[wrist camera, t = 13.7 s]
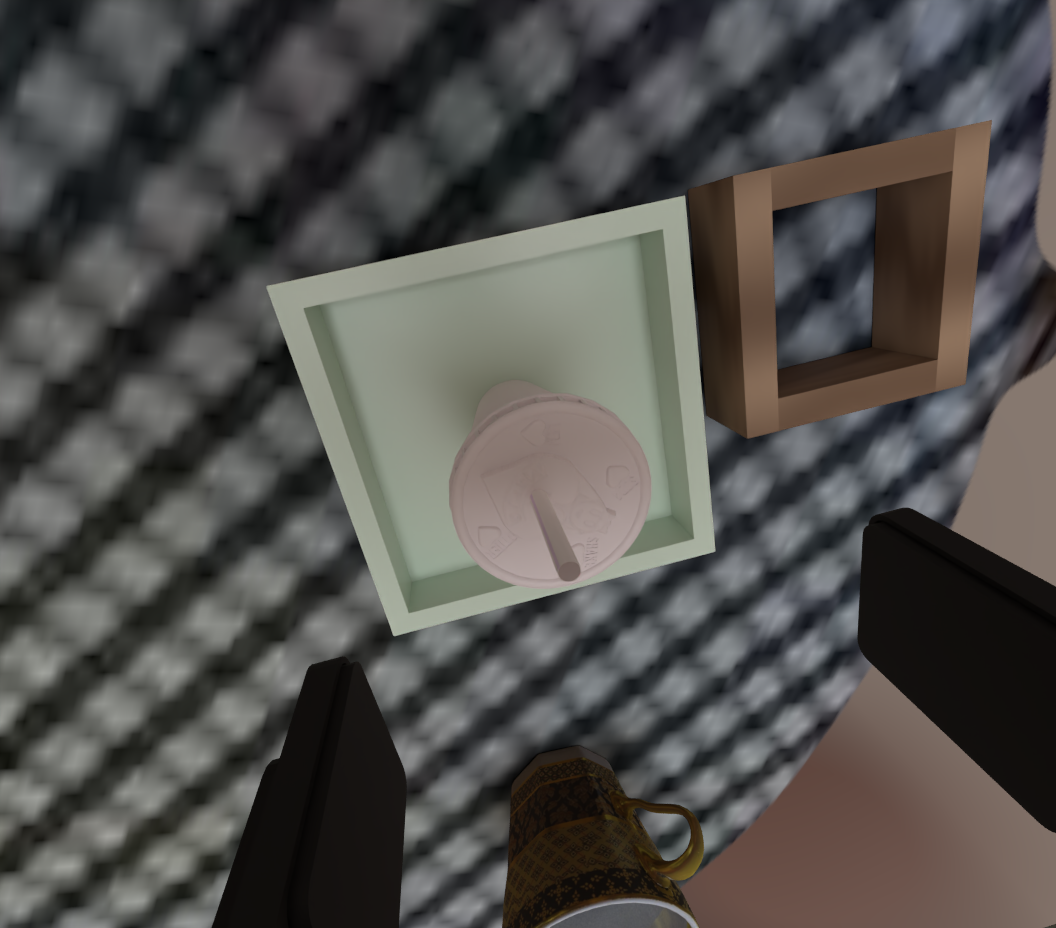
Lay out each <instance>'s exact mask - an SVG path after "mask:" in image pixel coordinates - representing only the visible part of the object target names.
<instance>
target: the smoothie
mask: <svg viewBox="0 0 1056 928" xmlns="http://www.w3.org/2000/svg"><path fill="white" fill-rule="evenodd" d="M651 491H652V485H651V474H650V469H649V465H648V461H647V459H646V456H645V453H644V451H643V449H642V447H641V445H640V444H639V442H638V441H637V439H636V438H635V436H634V435H633V434H632V432H631V431H630V430H629V429H628V428H627V427H626V425H625V424H624V423H623V422H622V421H621V420H620V419H619V418H618V417H617V416H616V414H615V413H613V412H611V411H610V410H608V409H606V408H605V407H603V406H601V405H600V404H598V403H597V402H595V401H593V400H590V399H586V398H583V397H579V396H575V395H572V394H568V393H552V392H549V391H547V390H545V389H543V388H541V387H538V386H536V385H534V384H532V383H530V382H527V381H522V380H509V381H504V382H501V383H499V384H497V385H495V386H493V387H492V388H491V389H489V390H488V391H487V392H486V393H485V394H484V396H483V397H482V399H481V400H480V402H479V404H478V407H477V410H476V414H475V418H474V422H473V426H472V430H471V432H470V433H469V435H468V436H467V438H466V440H465V441H464V443H463V445H462V446H461V448H460V450H459V452H458V453H457V455H456V457H455V460H454V464H453V468H452V472H451V475H450V479H449V506H450V509H451V514H452V519H453V524H454V527H455V531H456V533H457V536H458V538H459V540H460V542H461V544H462V545H463V547H464V549H465V550H466V552H467V553H468V554H469V556H470V557H471V558H472V559H473V560H474V561H475V562H476V563H477V564H478V565H479V566H480V567H481V568H483V569H484V570H485V571H487V572H488V573H490V574H491V575H493V576H495V577H496V578H498V579H501V580H503V581H505V582H508V583H510V584H513V585H517V586H521V587H527V588H535V589H551V588H560V587H565V586H570V585H573V584H577V583H580V582H582V581H585V580H587V579H589V578H592V577H594V576H596V575H597V574H599V573H601V572H603V571H604V570H605V569H607V568H608V567H610V566H611V565H612V564H614V563H615V562H616V561H617V560H618V559H619V558H620V557H621V556H622V555H623V554H624V553H625V552H626V551H627V550H628V549H629V548H630V546H631V545H632V544H633V542H634V541H635V539H636V538H637V536H638V534H639V533H640V531H641V529H642V527H643V525H644V522H645V520H646V517H647V514H648V510H649V507H650V501H651Z"/></svg>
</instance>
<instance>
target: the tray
mask: <svg viewBox="0 0 1056 928" xmlns="http://www.w3.org/2000/svg"><path fill="white" fill-rule="evenodd" d="M266 288H267V290H268V293H269V296H270V298H271V301H272V304H273V307H274V309H275V312H276V315H277V318H278V320H279V323H280V326H281V329H282V331H283V334H284V337H285V340H286V342H287V345H288V348H289V351H290V353H291V356H292V359H293V361H294V364H295V367H296V370H297V372H298V375H299V378H300V381H301V383H302V386H303V389H304V392H305V394H306V397H307V400H308V403H309V405H310V408H311V411H312V414H313V416H314V419H315V422H316V424H317V427H318V430H319V433H320V435H321V438H322V441H323V444H324V446H325V449H326V452H327V455H328V457H329V460H330V463H331V466H332V468H333V471H334V474H335V476H336V479H337V482H338V485H339V487H340V490H341V493H342V496H343V498H344V501H345V504H346V507H347V509H348V512H349V515H350V518H351V520H352V523H353V526H354V529H355V531H356V534H357V537H358V539H359V542H360V545H361V548H362V550H363V553H364V556H365V559H366V561H367V564H368V567H369V570H370V572H371V575H372V578H373V581H374V583H375V586H376V589H377V591H378V594H379V597H380V600H381V602H382V605H383V608H384V611H385V613H386V616H387V619H388V622H389V624H390V627H391V630H392V633H393V635H394V636H396V635H400V634H404V633H408V632H412V631H415V630H419V629H423V628H427V627H431V626H434V625H438V624H442V623H446V622H450V621H453V620H457V619H461V618H465V617H469V616H472V615H476V614H480V613H484V612H488V611H491V610H495V609H499V608H503V607H506V606H510V605H514V604H518V603H522V602H525V601H529V600H533V599H537V598H541V597H544V596H548V595H552V594H556V593H560V592H563V591H567V590H571V589H575V588H579V587H582V586H586V585H590V584H594V583H598V582H601V581H605V580H609V579H613V578H617V577H620V576H624V575H628V574H632V573H636V572H639V571H643V570H647V569H651V568H655V567H658V566H662V565H666V564H670V563H674V562H677V561H681V560H685V559H689V558H693V557H696V556H700V555H704V554H708V553H712V552H715V542H714V530H713V518H712V507H711V495H710V483H709V471H708V460H707V448H706V436H705V424H704V413H703V401H702V389H701V377H700V366H699V354H698V342H697V330H696V319H695V307H694V295H693V283H692V272H691V260H690V248H689V236H688V225H687V213H686V201H685V196H681V197H676V198H671V199H667V200H662V201H658V202H653V203H648V204H644V205H639V206H635V207H630V208H625V209H621V210H616V211H611V212H607V213H602V214H598V215H593V216H588V217H584V218H579V219H575V220H570V221H565V222H561V223H556V224H551V225H547V226H542V227H538V228H533V229H528V230H524V231H519V232H515V233H510V234H505V235H501V236H496V237H491V238H487V239H482V240H478V241H473V242H468V243H464V244H459V245H454V246H450V247H445V248H441V249H436V250H431V251H427V252H422V253H418V254H413V255H408V256H404V257H399V258H394V259H390V260H385V261H381V262H376V263H371V264H367V265H362V266H358V267H353V268H348V269H344V270H339V271H334V272H330V273H325V274H321V275H316V276H311V277H307V278H302V279H298V280H293V281H288V282H284V283H279V284H274V285H270V286H266ZM509 380H522V381H527V382H530V383H532V384H534V385H536V386H538V387H541V388H543V389H545V390H547V391H549V392H552V393H568V394H572V395H575V396H579V397H583V398H586V399H590V400H593V401H595V402H597V403H598V404H600V405H601V406H603V407H605V408H606V409H608V410H610V411H611V412H613V413H615V414H616V416H617V417H618V418H619V419H620V420H621V421H622V422H623V423H624V424H625V425H626V427H627V428H628V429H629V430H630V431H631V432H632V434H633V435H634V436H635V438H636V439H637V441H638V442H639V444H640V445H641V447H642V449H643V451H644V453H645V456H646V459H647V461H648V465H649V469H650V474H651V485H652V491H651V501H650V507H649V510H648V514H647V517H646V520H645V522H644V525H643V527H642V529H641V531H640V533H639V534H638V536H637V538H636V539H635V541H634V542H633V544H632V545H631V546H630V548H629V549H628V550H627V551H626V552H625V553H624V554H623V555H622V556H621V557H620V558H619V559H618V560H617V561H616V562H615V563H614V564H612V565H611V566H610V567H608V568H607V569H605V570H604V571H603V572H601V573H599V574H597V575H596V576H594V577H592V578H589V579H587V580H585V581H582V582H580V583H577V584H573V585H570V586H565V587H560V588H551V589H535V588H527V587H521V586H517V585H513V584H510V583H508V582H505V581H503V580H501V579H498V578H496V577H495V576H493V575H491V574H490V573H488V572H487V571H485V570H484V569H483V568H481V567H480V566H479V565H478V564H477V563H476V562H475V561H474V560H473V559H472V558H471V557H470V556H469V554H468V553H467V552H466V550H465V549H464V547H463V545H462V544H461V542H460V540H459V538H458V536H457V533H456V531H455V527H454V524H453V519H452V514H451V509H450V506H449V479H450V475H451V472H452V468H453V464H454V460H455V457H456V455H457V453H458V452H459V450H460V448H461V446H462V445H463V443H464V441H465V440H466V438H467V436H468V435H469V433H470V432H471V430H472V426H473V422H474V418H475V414H476V410H477V407H478V404H479V402H480V400H481V399H482V397H483V396H484V394H485V393H486V392H487V391H488V390H489V389H491V388H492V387H493V386H495V385H497V384H499V383H501V382H504V381H509Z"/></svg>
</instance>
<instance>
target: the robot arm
mask: <svg viewBox="0 0 1056 928" xmlns="http://www.w3.org/2000/svg"><path fill="white" fill-rule="evenodd" d="M858 644H859V647H860V649H861V652H862V653H863V655H864V656H865V657H866V659H867V660H868V661H869V662H870V663H871V664H872V665H873V666H875V667H876V668H877V669H878V670H879V671H880V672H881V673H882V674H883V675H884V676H885V677H886V678H887V679H888V680H889V681H890V682H891V683H893V684H894V685H895V686H896V687H897V688H898V689H899V690H900V691H901V692H902V693H903V694H904V695H905V696H906V697H907V698H908V699H909V700H910V701H911V702H913V703H914V704H915V705H916V706H917V707H918V708H919V709H920V710H921V711H922V712H923V713H924V714H925V715H926V716H927V717H928V718H929V719H930V720H931V721H932V722H934V723H935V724H936V725H937V726H938V727H939V728H940V729H941V730H942V731H943V732H944V733H945V734H946V735H947V736H948V737H949V738H950V739H951V740H953V741H954V742H955V743H956V744H957V745H958V746H959V747H960V748H961V749H962V750H963V751H964V752H965V753H966V754H967V755H968V756H969V757H970V758H971V759H973V760H974V761H975V762H976V763H977V764H978V765H979V766H980V767H981V768H982V769H983V770H984V771H985V772H986V773H987V774H988V775H990V777H992V779H994V780H995V781H996V782H997V783H998V784H999V785H1000V786H1001V787H1002V788H1003V789H1004V790H1005V791H1006V792H1007V793H1008V794H1009V795H1010V796H1011V797H1012V798H1014V799H1015V800H1016V801H1017V802H1018V803H1019V804H1020V805H1021V806H1022V807H1023V808H1024V809H1025V810H1026V811H1027V812H1028V813H1029V814H1030V815H1031V816H1033V817H1034V818H1035V819H1036V820H1037V821H1038V822H1039V823H1040V824H1041V825H1043V826H1044V827H1045V828H1047V829H1048V830H1050V831H1052V832H1055V833H1056V587H1055V586H1054V585H1051V584H1050V583H1048V582H1046V581H1044V580H1043V579H1041V578H1039V577H1037V576H1035V575H1033V574H1031V573H1030V572H1028V571H1026V570H1024V569H1022V568H1020V567H1019V566H1017V565H1015V564H1013V563H1011V562H1009V561H1007V560H1006V559H1004V558H1002V557H1000V556H998V555H996V554H995V553H993V552H991V551H989V550H987V549H985V548H984V547H981V546H980V545H978V544H976V543H974V542H972V541H971V540H969V539H967V538H965V537H963V536H961V535H960V534H958V533H956V532H954V531H952V530H950V529H948V528H947V527H945V526H943V525H941V524H939V523H937V522H936V521H934V520H932V519H930V518H928V517H926V516H924V515H923V514H921V513H919V512H917V511H915V510H913V509H910V508H900V509H896V510H893V511H889V512H885V513H881V514H878V515H875V516H873V517H872V518H871V519H870V521H869V525H868V526H866V527H865V529H864V531H863V542H862V561H861V580H860V600H859V619H858ZM406 793H407V785H406V776H405V771H404V768H403V765H402V763H401V760H400V758H399V755H398V753H397V751H396V748H395V746H394V743H393V741H392V739H391V736H390V734H389V731H388V729H387V726H386V724H385V722H384V719H383V717H382V714H381V712H380V710H379V707H378V705H377V702H376V700H375V698H374V695H373V693H372V690H371V688H370V686H369V683H368V681H367V678H366V676H365V674H364V671H363V669H362V667H361V665H360V663H359V662H354V663H350V662H349V660H348V659H347V658H346V657H343V656H342V657H339V658H335V659H331V660H327V661H324V662H320V663H316V664H312V665H311V666H309V668H308V670H307V673H306V676H305V679H304V682H303V685H302V689H301V692H300V695H299V698H298V701H297V705H296V708H295V711H294V714H293V717H292V721H291V724H290V727H289V730H288V733H287V737H286V740H285V743H284V746H283V749H282V753H281V756H280V758H279V759H275V760H272V761H271V762H270V763H269V764H268V766H267V767H266V769H265V772H264V774H263V776H262V779H261V782H260V785H259V788H258V791H257V794H256V797H255V800H254V803H253V806H252V809H251V812H250V815H249V818H248V821H247V824H246V827H245V830H244V833H243V836H242V839H241V842H240V845H239V848H238V851H237V854H236V857H235V860H234V863H233V865H232V868H231V871H230V874H229V877H228V880H227V883H226V886H225V889H224V892H223V895H222V898H221V901H220V904H219V907H218V910H217V913H216V916H215V919H214V922H213V925H212V928H399V913H400V896H401V879H402V862H403V845H404V827H405V810H406ZM1045 928H1056V924H1055V925H1051V926H1049V927H1045Z"/></svg>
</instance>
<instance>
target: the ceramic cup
mask: <svg viewBox="0 0 1056 928" xmlns="http://www.w3.org/2000/svg"><path fill="white" fill-rule="evenodd" d="M635 808H643V809H645V810H647V811H650V812H654V813H666V814H680V815H683V816H684V817H685V818H686V819H687V821H688V823H689V825H690V829H691V838H690V843H689V845H688V848H687V849H686V851H685V852H684V853H683V854H682V855H681V856H680V857H679V858H677V859H675V860H672V861H664V860H663V859H662V857H661V855H660V853H659V852H658V850H657V848H656V846H655V845H654V843H653V841H652V840H651V838H650V837H649V835H648V834H647V832H646V830H645V828H644V826H643V824H642V823H641V821H640V819H639V817H638V815H637V814H636V812H635V810H634V809H635ZM703 852H704V842H703V835H702V830H701V826H700V824H699V822H698V820H697V818H696V817H695V816H694V815H693V813H692V812H690V811H689V810H688V809H686V808H684V807H682V806H680V805H675V804H654V803H649V802H646V801H644V800H641V799H635V798H628V797H627V796H626V794H625V793H624V791H623V789H622V787H621V785H620V783H619V781H618V779H617V777H616V776H615V774H614V772H613V770H612V768H611V766H610V764H609V762H608V761H607V760H606V759H605V758H603V757H601V756H599V755H597V754H595V753H593V752H591V751H589V750H587V749H585V748H583V747H581V746H574V747H569V748H564V749H560V750H555V751H551V752H546V753H542V754H539V755H537V756H536V757H535V758H534V759H533V760H532V762H531V763H530V764H529V765H528V766H527V767H526V768H525V769H524V770H523V771H522V772H521V774H520V775H519V776H518V777H517V778H516V779H515V780H514V783H513V784H512V791H511V812H510V831H509V850H508V873H507V881H506V889H505V897H504V908H503V924H502V928H699V925H698V923H697V921H696V919H695V917H694V915H693V913H692V911H691V909H690V907H689V905H688V903H687V901H686V899H685V897H684V895H683V893H682V891H681V890H680V888H679V886H678V884H677V883H676V881H675V880H684V879H687V878H689V877H690V876H692V875H693V874H694V873H695V871H696V870H697V868H698V867H699V865H700V863H701V861H702V858H703Z"/></svg>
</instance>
